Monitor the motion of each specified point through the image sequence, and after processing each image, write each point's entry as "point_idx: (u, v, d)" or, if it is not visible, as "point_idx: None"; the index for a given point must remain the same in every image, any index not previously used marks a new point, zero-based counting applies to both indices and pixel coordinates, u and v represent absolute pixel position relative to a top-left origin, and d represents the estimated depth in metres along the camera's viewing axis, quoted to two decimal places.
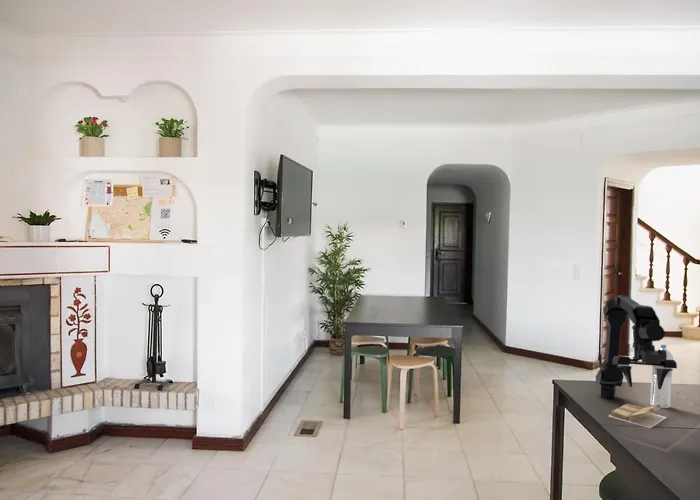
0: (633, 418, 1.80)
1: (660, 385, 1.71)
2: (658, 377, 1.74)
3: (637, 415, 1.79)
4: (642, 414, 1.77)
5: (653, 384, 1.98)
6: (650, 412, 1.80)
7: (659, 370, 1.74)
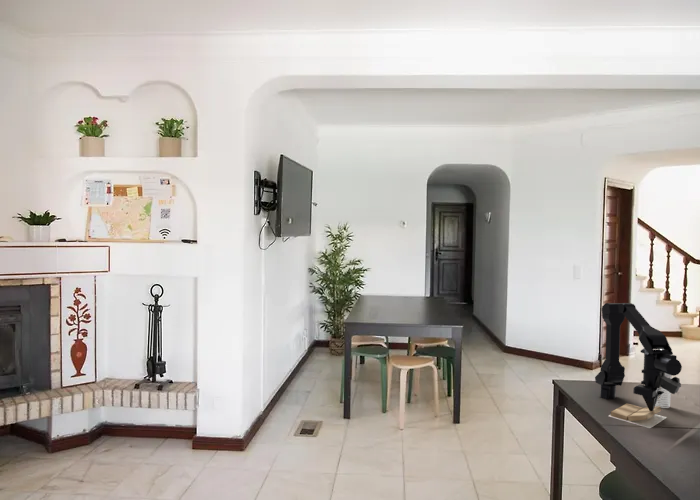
0: (633, 419, 1.80)
1: (653, 407, 1.82)
2: None
3: (637, 416, 1.78)
4: (643, 416, 1.77)
5: None
6: (651, 414, 1.80)
7: None
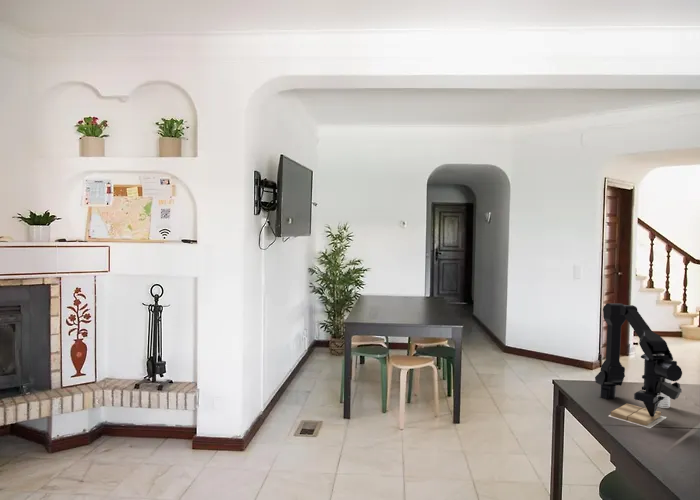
0: (632, 420, 1.80)
1: (654, 413, 1.81)
2: None
3: (638, 420, 1.78)
4: (643, 421, 1.77)
5: None
6: (651, 420, 1.80)
7: None
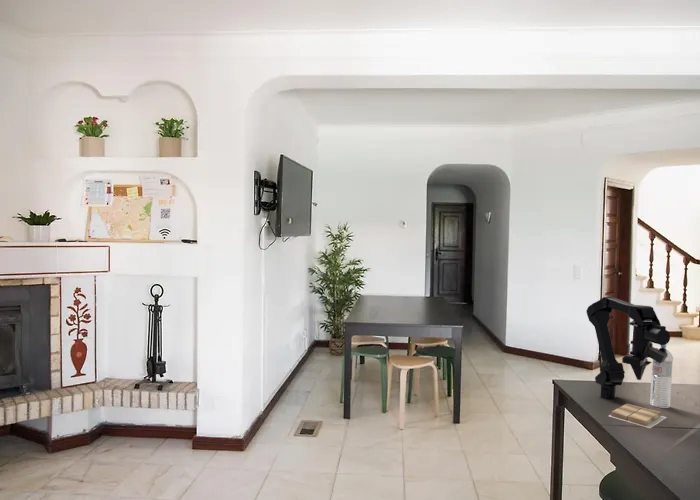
0: (632, 420, 1.80)
1: (641, 376, 1.91)
2: None
3: (638, 420, 1.78)
4: (643, 421, 1.77)
5: (653, 384, 1.98)
6: (651, 420, 1.80)
7: None
